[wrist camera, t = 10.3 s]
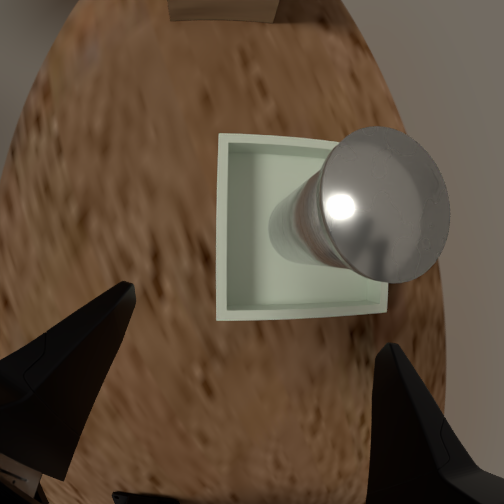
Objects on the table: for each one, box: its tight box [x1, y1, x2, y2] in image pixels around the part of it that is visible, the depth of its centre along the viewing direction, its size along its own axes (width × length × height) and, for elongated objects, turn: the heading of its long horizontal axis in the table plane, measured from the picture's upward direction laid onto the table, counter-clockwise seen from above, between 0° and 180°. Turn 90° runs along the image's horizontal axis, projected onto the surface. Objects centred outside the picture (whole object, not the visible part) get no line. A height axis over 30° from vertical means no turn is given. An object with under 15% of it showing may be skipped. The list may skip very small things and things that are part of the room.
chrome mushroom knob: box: [268, 126, 450, 283], centre depth 14 cm, size 5×5×11 cm
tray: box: [216, 133, 388, 321], centre depth 19 cm, size 11×11×2 cm
